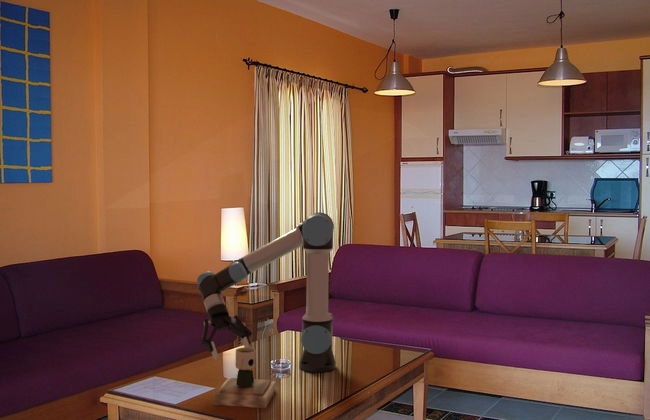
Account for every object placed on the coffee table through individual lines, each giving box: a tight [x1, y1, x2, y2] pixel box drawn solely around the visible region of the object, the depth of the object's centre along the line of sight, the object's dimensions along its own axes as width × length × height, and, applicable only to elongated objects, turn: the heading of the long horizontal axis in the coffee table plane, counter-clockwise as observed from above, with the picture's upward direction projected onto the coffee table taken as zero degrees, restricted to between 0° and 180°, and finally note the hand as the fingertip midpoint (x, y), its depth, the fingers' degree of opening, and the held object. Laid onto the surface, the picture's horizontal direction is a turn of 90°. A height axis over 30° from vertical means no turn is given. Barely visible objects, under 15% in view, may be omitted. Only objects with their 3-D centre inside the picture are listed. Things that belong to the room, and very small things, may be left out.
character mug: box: [235, 347, 257, 387], centre depth 239 cm, size 11×7×13 cm, turn 162°
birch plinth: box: [214, 377, 276, 409], centre depth 240 cm, size 18×18×4 cm
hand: (233, 356), depth 248 cm, fingers open, 13 cm apart
